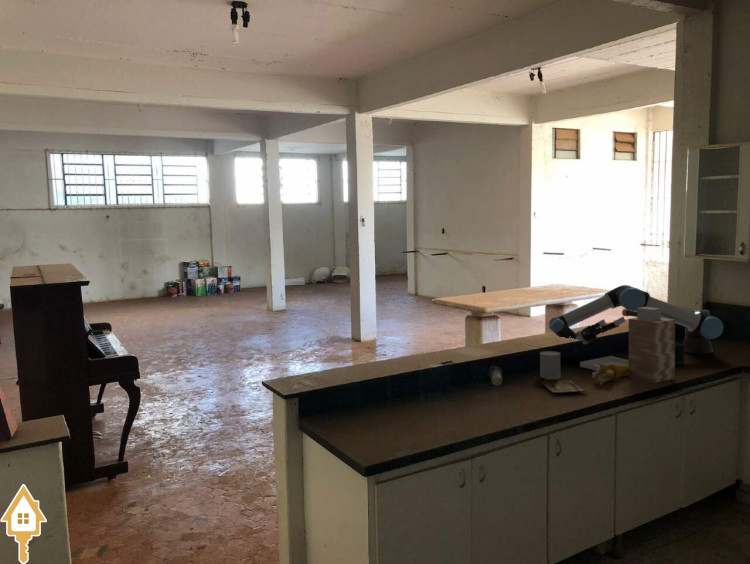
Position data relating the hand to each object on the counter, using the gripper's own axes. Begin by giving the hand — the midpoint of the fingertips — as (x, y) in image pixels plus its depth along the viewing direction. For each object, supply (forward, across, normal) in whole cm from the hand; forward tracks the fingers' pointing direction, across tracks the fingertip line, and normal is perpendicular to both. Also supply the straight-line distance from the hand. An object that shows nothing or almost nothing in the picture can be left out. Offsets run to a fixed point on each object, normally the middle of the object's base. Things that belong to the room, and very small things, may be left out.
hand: (614, 320), depth 300 cm
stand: (+7, 0, -32) cm, 33 cm away
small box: (-4, -32, -26) cm, 41 cm away
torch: (+2, +18, -29) cm, 34 cm away
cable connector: (+15, 0, -5) cm, 16 cm away
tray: (-12, 0, -22) cm, 24 cm away
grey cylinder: (-16, +38, -20) cm, 46 cm away
